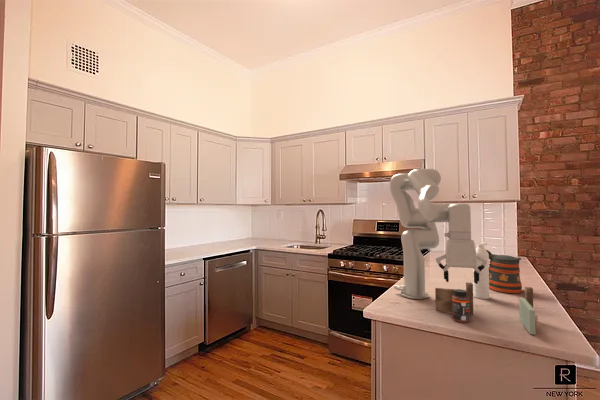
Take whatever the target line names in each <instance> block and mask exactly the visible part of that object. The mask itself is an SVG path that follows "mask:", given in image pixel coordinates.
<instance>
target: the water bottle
mask: <svg viewBox="0 0 600 400" xmlns="http://www.w3.org/2000/svg"><path fill="white" fill-rule="evenodd" d="M487 245H488V242H480V243H477V247H475V248H476V256H478V257H480V258H482V259H484V260H486V261H487V264H486V265H485V267H484V269H483V270H481V271H480V273H479V281H478V284H476V283H475V282H474V271H475V270H474V269H473V268H472V274H473V275H472V278H473V279H472V282H473V283H472V284H473V298H477V299H479V300H480V299H482V300H487V299H490V289H489V264H490V259H489V254H488V252H487V251H486V250H487V249H486V248H485V247H484V246H487ZM481 263H482V262H481V261H479V260H477V266H476V267H477V268H478V267H479V266H480V265H481Z"/></svg>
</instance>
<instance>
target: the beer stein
mask: <svg viewBox="0 0 600 400" xmlns="http://www.w3.org/2000/svg"><path fill="white" fill-rule="evenodd" d="M486 251H487V252H488V254H489V290H491V291H496V292H499V293H504V294H514V295H515V294H521V293H522V292H523V288H522V287H523V285H522V281H521V276H520V273H521V270H520V263H521V262H520V261H521V260H522V258H521V257H515V256H513V255H512V256H511V255H506V254H493V253H492V252H491V251H490V250H488V249H486Z"/></svg>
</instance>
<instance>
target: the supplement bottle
mask: <svg viewBox="0 0 600 400" xmlns="http://www.w3.org/2000/svg"><path fill="white" fill-rule="evenodd" d="M454 289H455V292H454V293H455V294H454V295H453V296H452V313H451V319H452V320H453V322H456V323H461V324H467V323H469V322H470V320H471V319H470V316H471V315H470V312H469V297H467V296H466V291H465V290H466V289H463V288H462V289H460V288H454Z"/></svg>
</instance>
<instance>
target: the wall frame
mask: <svg viewBox="0 0 600 400" xmlns="http://www.w3.org/2000/svg"><path fill="white" fill-rule="evenodd" d="M473 287H474V286H473V283H472V282H465V289H464V290H465V291H466V296H467V297H469V312H470V316H474V296H473V291H474V290H473ZM434 289H435V291H434V292H435V293H434V294H435V297H434V298H435V299H434V300H435V301H434V302H435V312H440V313H449V314H450V313H451V314H452V296H453V295H454V294H455V293H454V292H455V289H456V288H441V287H435V288H434ZM524 298H525V299H526V301H527V302H528V303H529V304H530V305H531V306H532V308H533V309H534V288H533V287H532V286H531V287H530V286H524Z"/></svg>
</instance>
